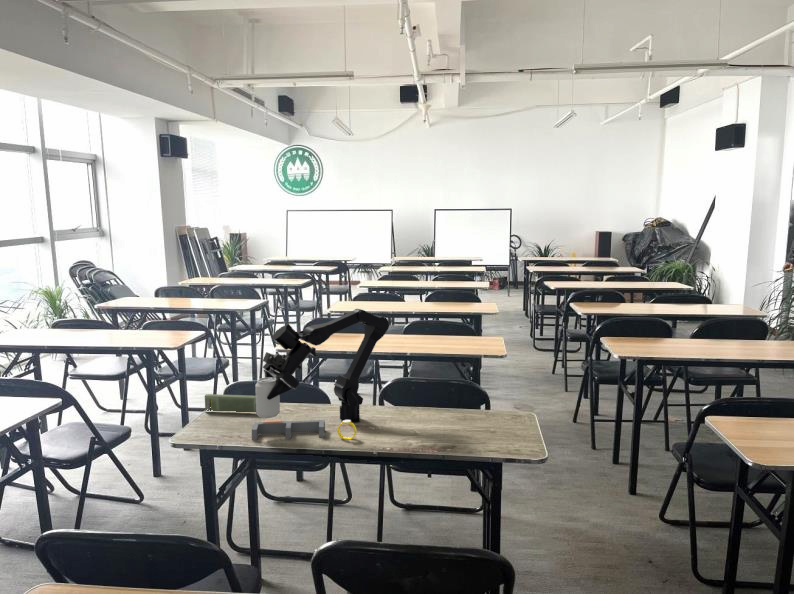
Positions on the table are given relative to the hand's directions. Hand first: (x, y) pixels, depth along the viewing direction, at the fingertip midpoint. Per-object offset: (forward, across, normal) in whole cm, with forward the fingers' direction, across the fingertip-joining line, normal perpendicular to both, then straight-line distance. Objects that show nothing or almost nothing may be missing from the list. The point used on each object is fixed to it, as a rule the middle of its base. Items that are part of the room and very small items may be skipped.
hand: (263, 396), depth 186 cm
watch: (-5, +16, +25) cm, 30 cm away
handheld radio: (+10, -29, +10) cm, 32 cm away
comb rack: (+4, +3, +14) cm, 15 cm away
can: (+4, 0, +6) cm, 7 cm away
